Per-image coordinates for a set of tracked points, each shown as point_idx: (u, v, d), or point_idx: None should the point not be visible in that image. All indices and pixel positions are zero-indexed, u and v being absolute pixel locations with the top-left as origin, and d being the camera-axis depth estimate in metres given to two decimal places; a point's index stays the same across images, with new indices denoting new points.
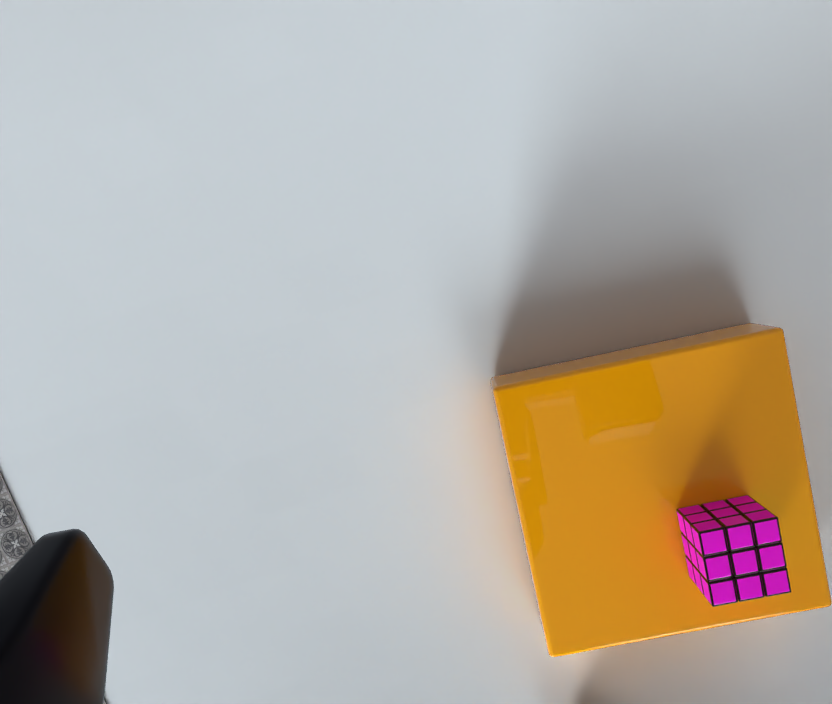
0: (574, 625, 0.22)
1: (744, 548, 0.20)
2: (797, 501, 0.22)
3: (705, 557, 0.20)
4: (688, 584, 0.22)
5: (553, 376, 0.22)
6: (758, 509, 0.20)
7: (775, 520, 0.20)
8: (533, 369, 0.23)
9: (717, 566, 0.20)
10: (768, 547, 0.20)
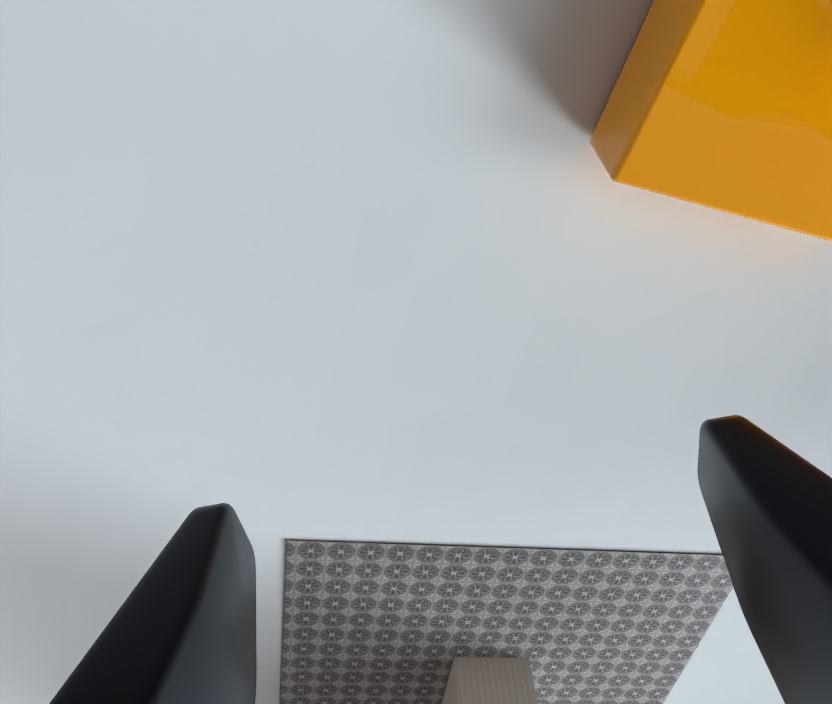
0: None
1: None
2: None
3: None
4: None
5: (647, 109, 0.17)
6: None
7: None
8: (614, 95, 0.18)
9: None
10: None
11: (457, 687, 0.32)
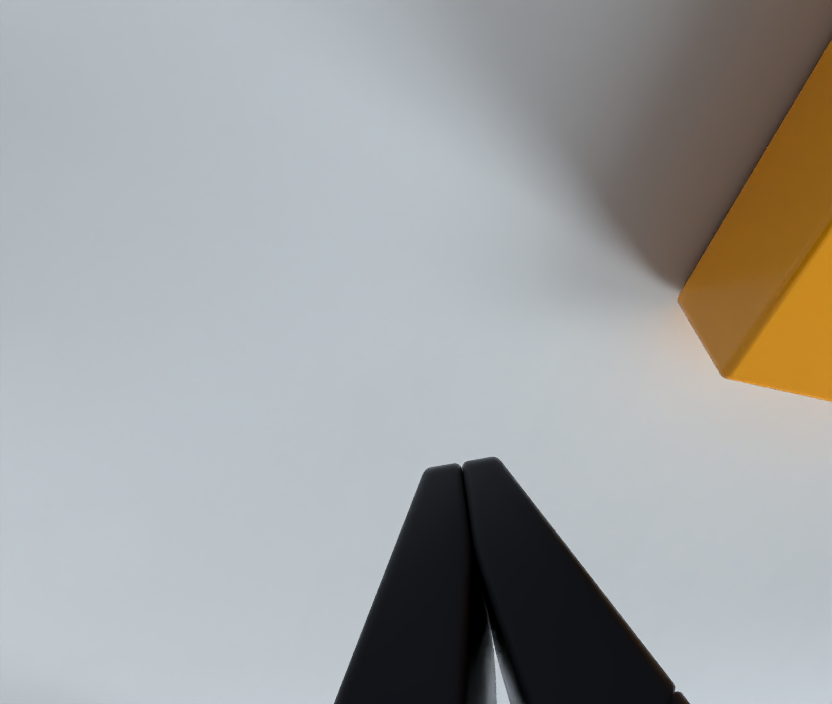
0: None
1: None
2: None
3: None
4: None
5: (784, 289, 0.11)
6: None
7: None
8: (719, 246, 0.13)
9: None
10: None
11: None
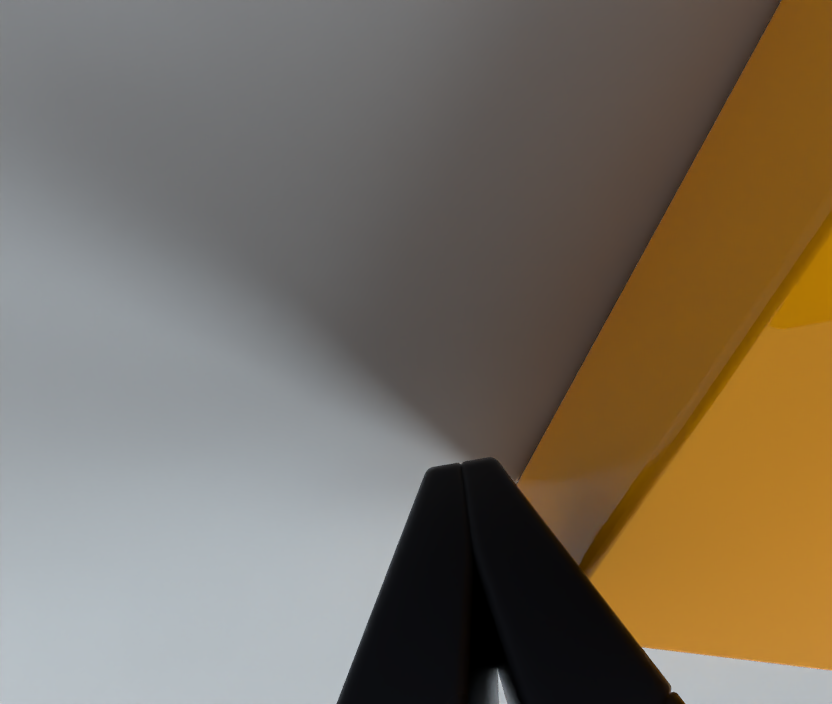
0: None
1: None
2: None
3: None
4: None
5: (602, 545, 0.08)
6: None
7: None
8: (549, 447, 0.10)
9: None
10: None
11: None
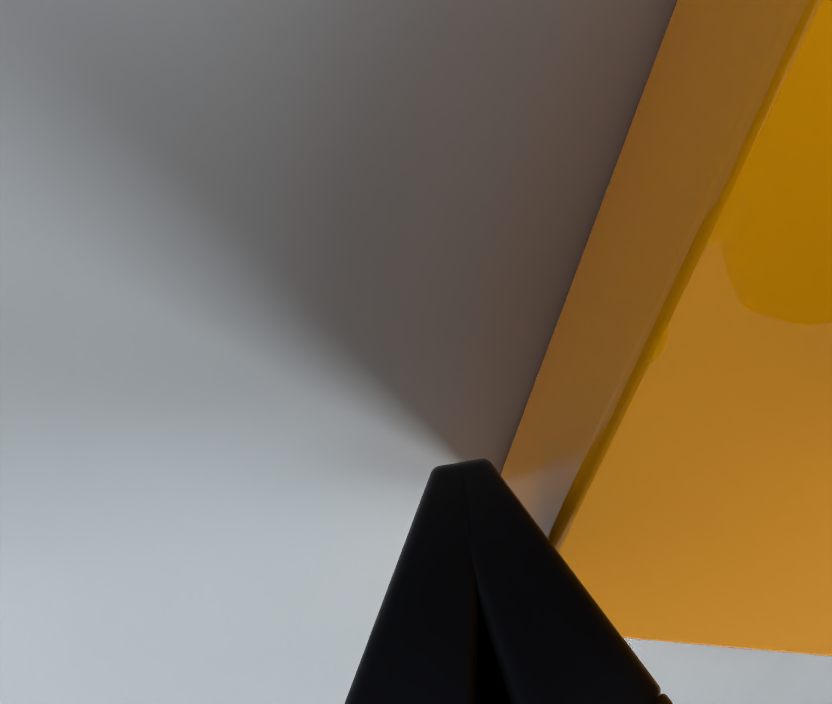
0: None
1: None
2: None
3: None
4: None
5: (554, 540, 0.09)
6: None
7: None
8: (518, 447, 0.10)
9: None
10: None
11: None
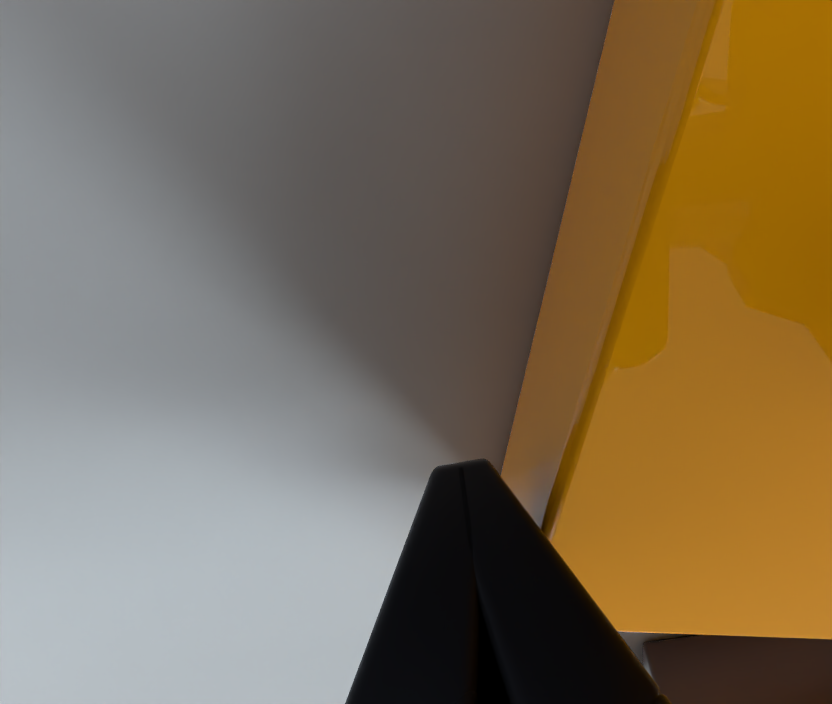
0: None
1: None
2: None
3: None
4: None
5: None
6: None
7: None
8: (512, 449, 0.10)
9: None
10: None
11: None
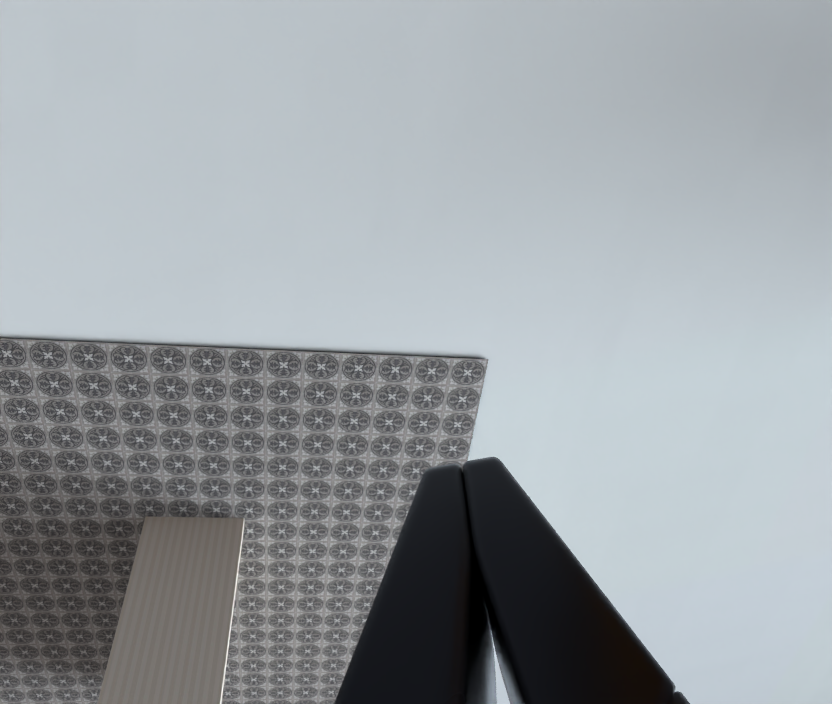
0: None
1: None
2: None
3: None
4: None
5: None
6: None
7: None
8: None
9: None
10: None
11: (137, 550, 0.25)
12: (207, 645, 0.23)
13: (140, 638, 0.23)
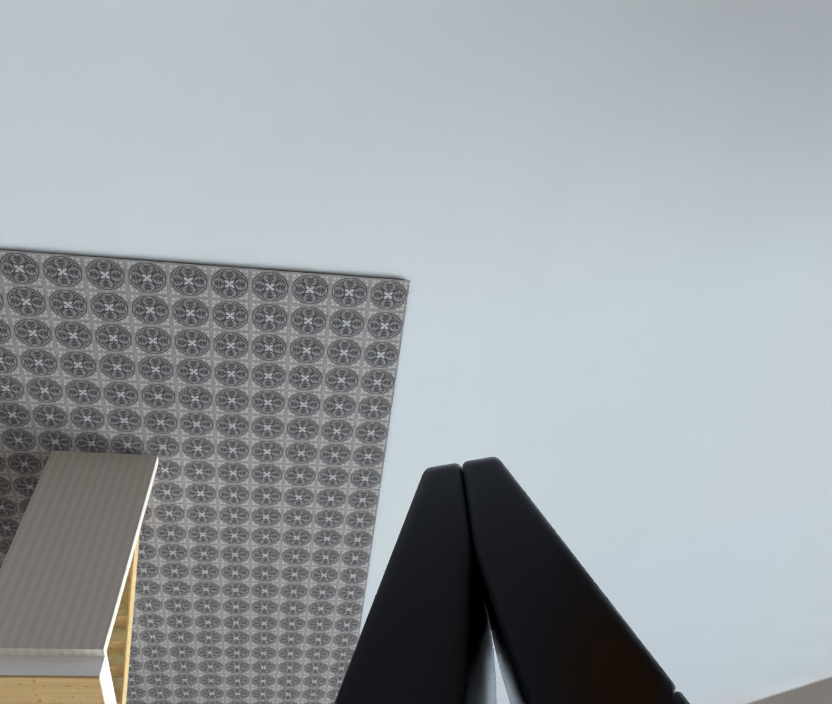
0: None
1: None
2: None
3: None
4: None
5: None
6: None
7: None
8: None
9: None
10: None
11: (39, 483, 0.23)
12: (100, 580, 0.21)
13: (28, 571, 0.21)
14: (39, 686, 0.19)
